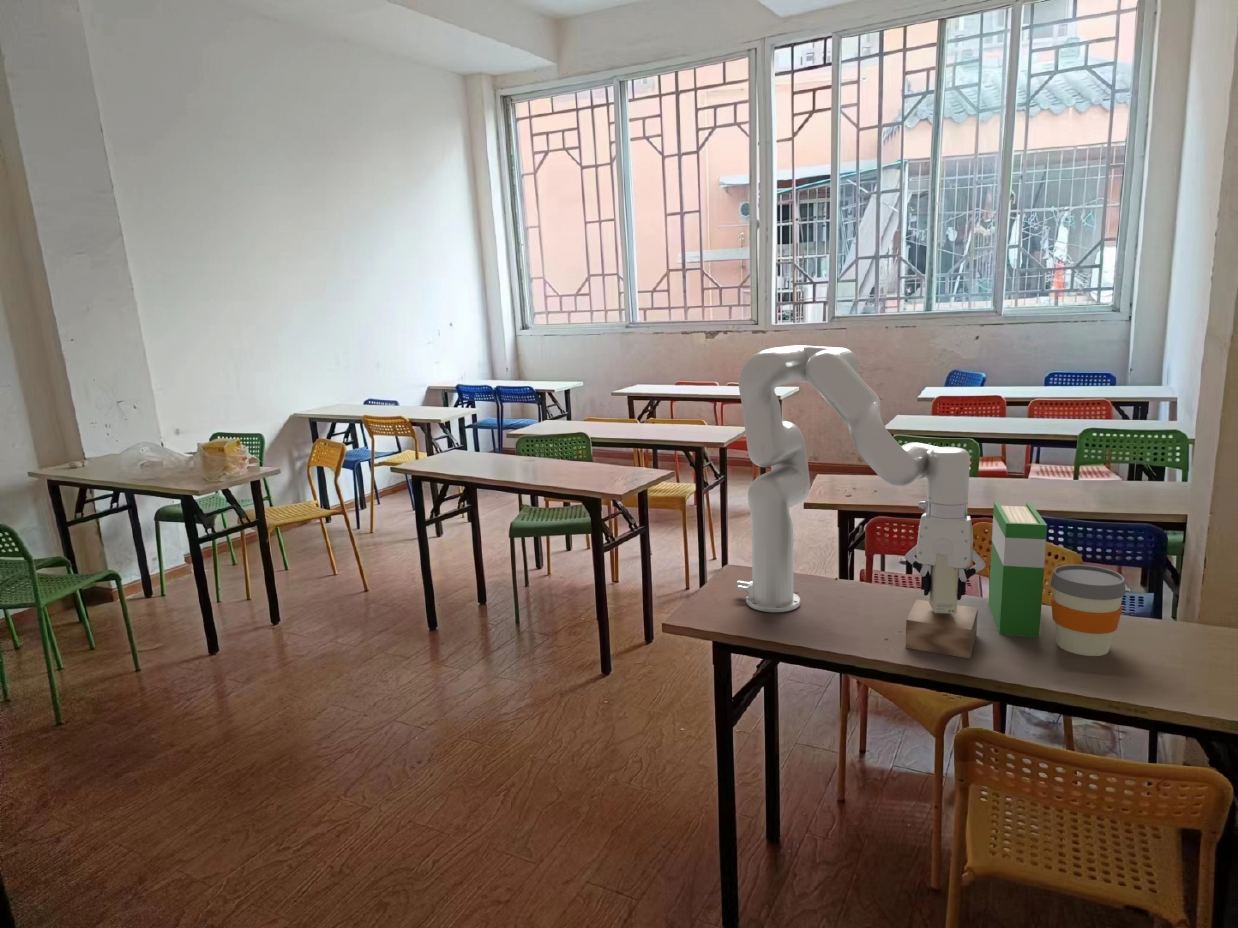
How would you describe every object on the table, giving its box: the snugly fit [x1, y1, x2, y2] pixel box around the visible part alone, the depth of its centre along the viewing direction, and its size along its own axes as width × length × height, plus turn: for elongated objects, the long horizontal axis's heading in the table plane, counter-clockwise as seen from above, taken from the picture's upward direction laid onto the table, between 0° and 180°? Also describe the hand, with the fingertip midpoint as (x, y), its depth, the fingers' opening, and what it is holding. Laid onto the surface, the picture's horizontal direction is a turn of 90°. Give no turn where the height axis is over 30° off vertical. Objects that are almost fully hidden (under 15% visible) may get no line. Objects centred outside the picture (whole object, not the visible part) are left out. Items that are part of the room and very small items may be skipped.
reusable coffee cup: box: [1050, 564, 1126, 657], centre depth 151 cm, size 12×13×15 cm
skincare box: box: [928, 554, 959, 614], centre depth 155 cm, size 6×4×12 cm
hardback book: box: [988, 501, 1048, 638], centre depth 165 cm, size 18×7×24 cm, turn 162°
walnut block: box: [905, 598, 979, 660], centre depth 157 cm, size 12×12×6 cm
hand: (942, 594), depth 156 cm, fingers closed on skincare box, 5 cm apart
